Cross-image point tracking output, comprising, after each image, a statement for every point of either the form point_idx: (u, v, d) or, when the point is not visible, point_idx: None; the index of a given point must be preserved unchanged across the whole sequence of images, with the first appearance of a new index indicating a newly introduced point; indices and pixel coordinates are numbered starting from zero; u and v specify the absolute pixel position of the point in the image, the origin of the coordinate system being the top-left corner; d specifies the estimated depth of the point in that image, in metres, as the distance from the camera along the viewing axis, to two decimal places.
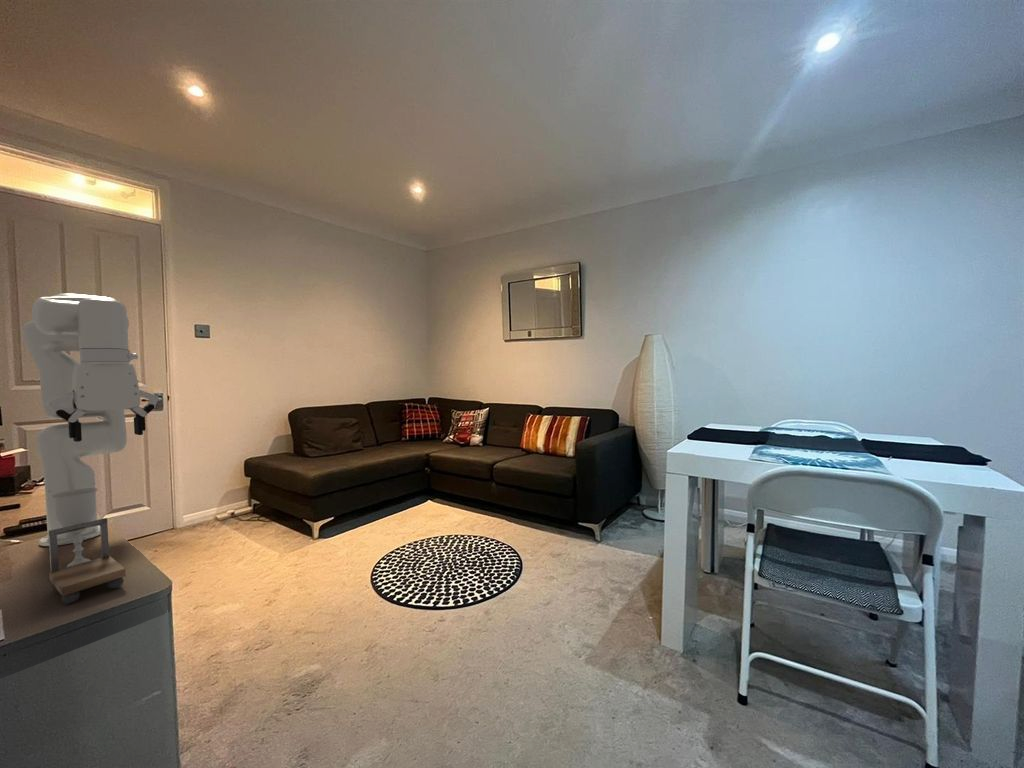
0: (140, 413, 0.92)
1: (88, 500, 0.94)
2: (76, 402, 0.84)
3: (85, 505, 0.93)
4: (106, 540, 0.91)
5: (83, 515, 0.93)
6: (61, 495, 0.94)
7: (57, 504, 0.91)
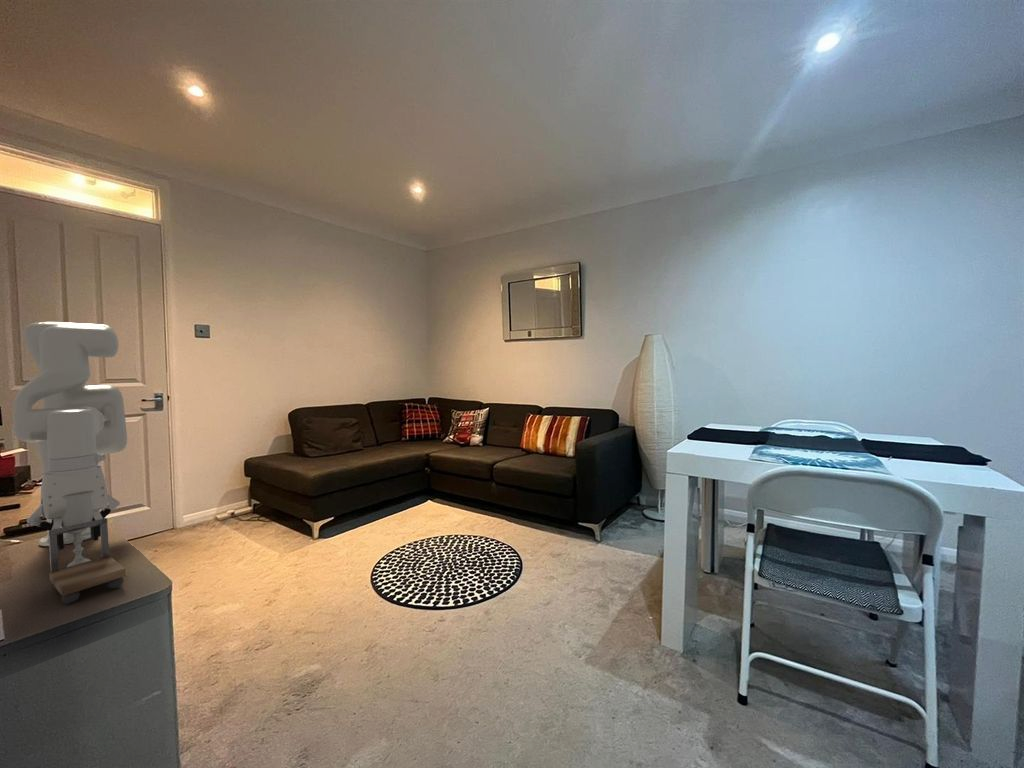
0: (96, 518, 0.96)
1: (88, 500, 0.94)
2: (44, 511, 0.89)
3: (85, 505, 0.93)
4: (106, 540, 0.91)
5: (83, 515, 0.93)
6: None
7: None
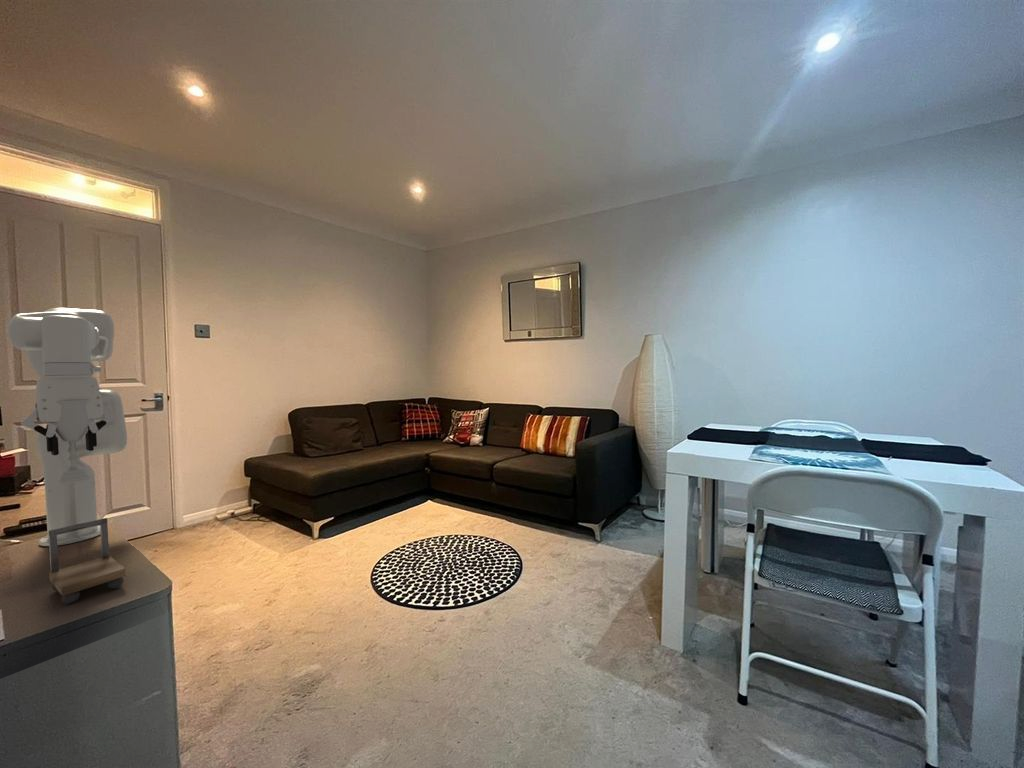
0: (92, 428, 0.95)
1: (83, 408, 0.93)
2: (38, 414, 0.88)
3: (80, 413, 0.92)
4: (106, 540, 0.91)
5: (78, 422, 0.92)
6: None
7: None
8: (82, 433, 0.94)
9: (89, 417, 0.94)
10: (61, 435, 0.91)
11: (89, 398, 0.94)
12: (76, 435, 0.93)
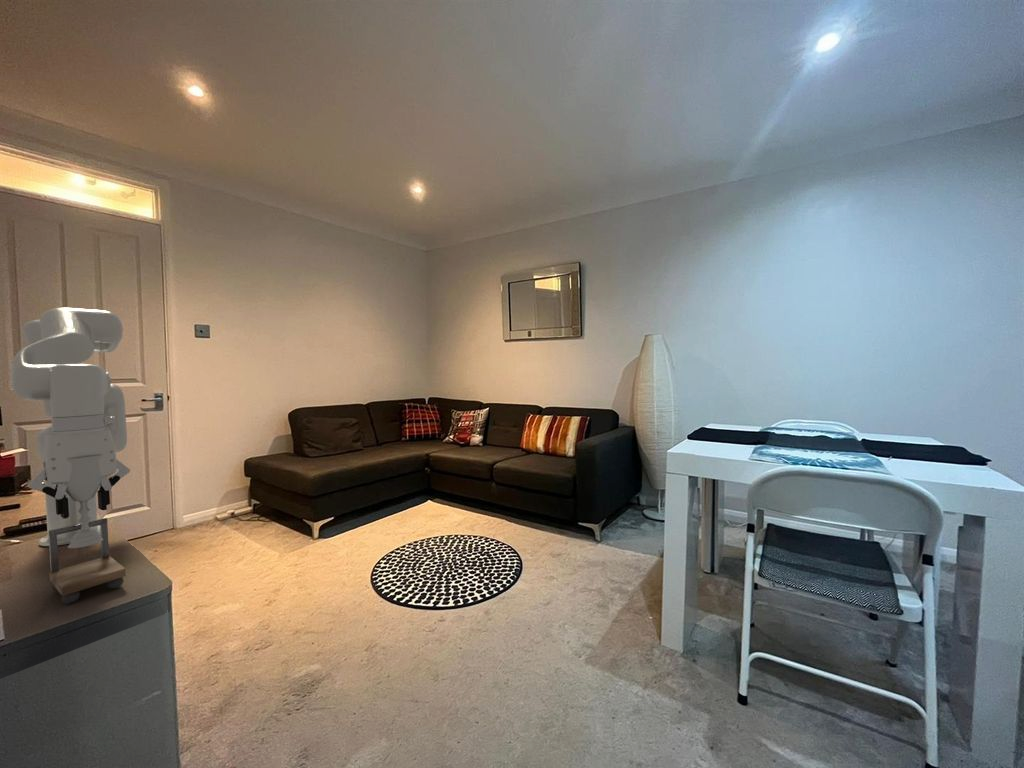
0: (104, 486, 0.87)
1: (95, 465, 0.85)
2: (47, 475, 0.80)
3: (92, 470, 0.84)
4: (106, 540, 0.91)
5: (90, 481, 0.84)
6: None
7: None
8: (94, 491, 0.85)
9: (102, 474, 0.86)
10: (71, 495, 0.83)
11: (102, 453, 0.86)
12: (88, 494, 0.84)
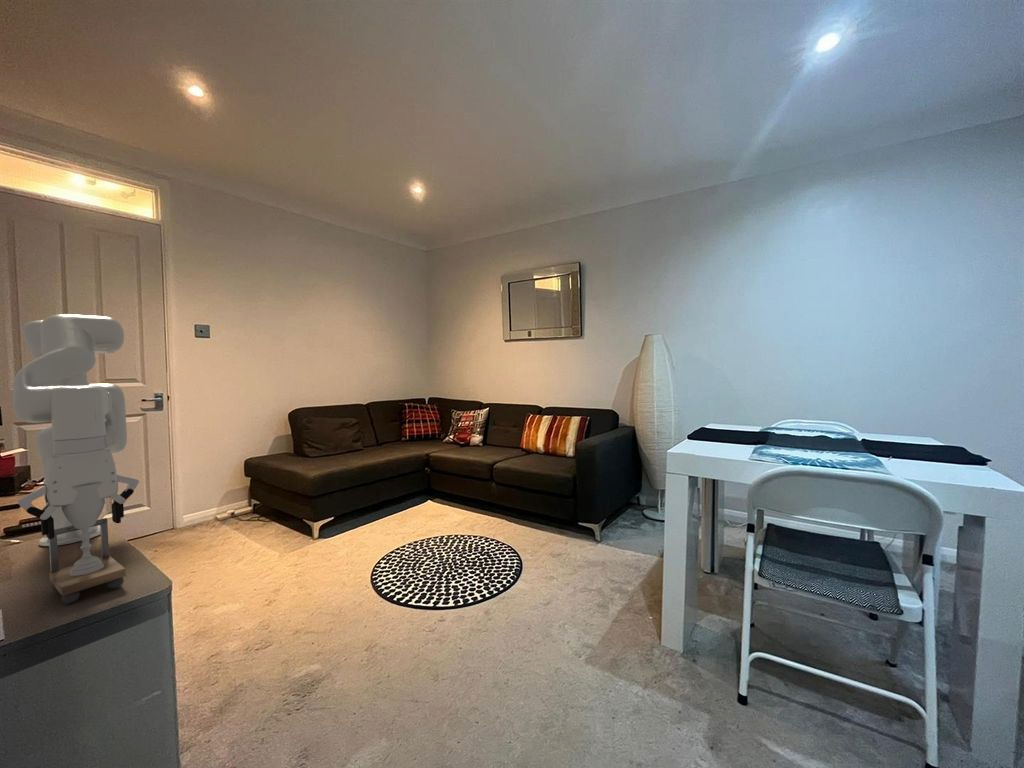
0: (118, 500, 0.88)
1: (97, 492, 0.85)
2: (48, 498, 0.80)
3: (94, 497, 0.85)
4: (106, 540, 0.91)
5: (92, 508, 0.84)
6: None
7: None
8: (96, 518, 0.86)
9: (103, 495, 0.86)
10: (73, 523, 0.83)
11: (103, 475, 0.86)
12: (89, 522, 0.85)
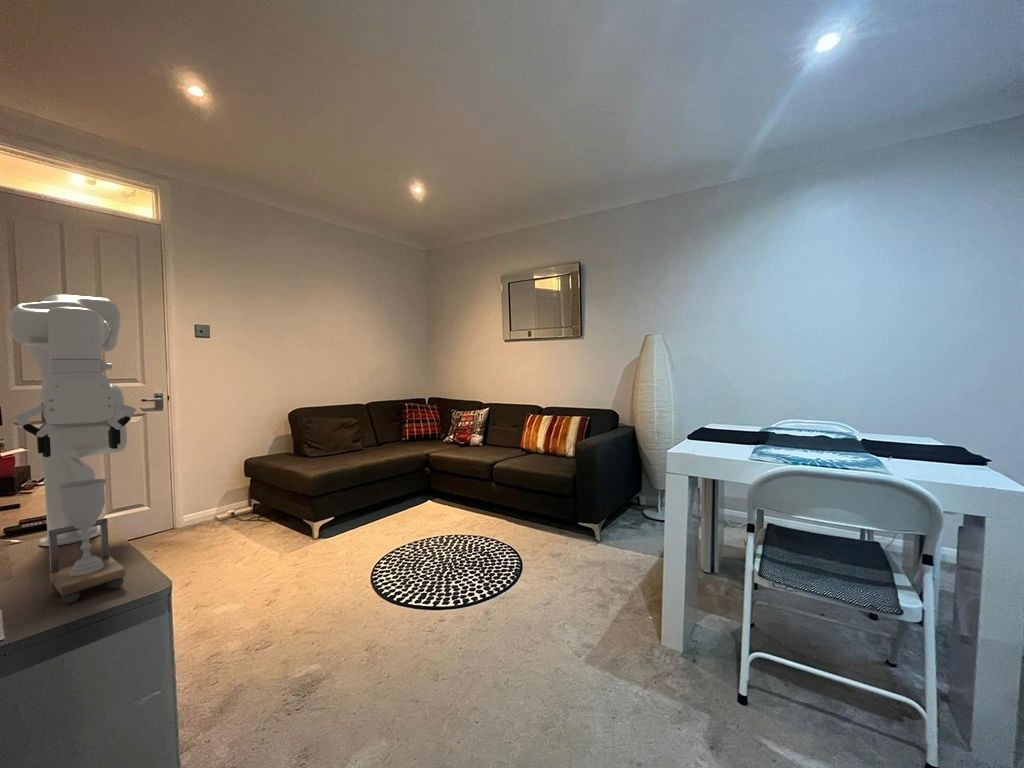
0: (115, 426, 0.88)
1: (97, 492, 0.85)
2: (45, 416, 0.80)
3: (94, 497, 0.85)
4: (106, 540, 0.91)
5: (92, 508, 0.84)
6: (67, 486, 0.85)
7: (63, 496, 0.82)
8: (96, 518, 0.86)
9: (99, 419, 0.86)
10: (73, 523, 0.83)
11: (99, 398, 0.86)
12: (89, 522, 0.85)
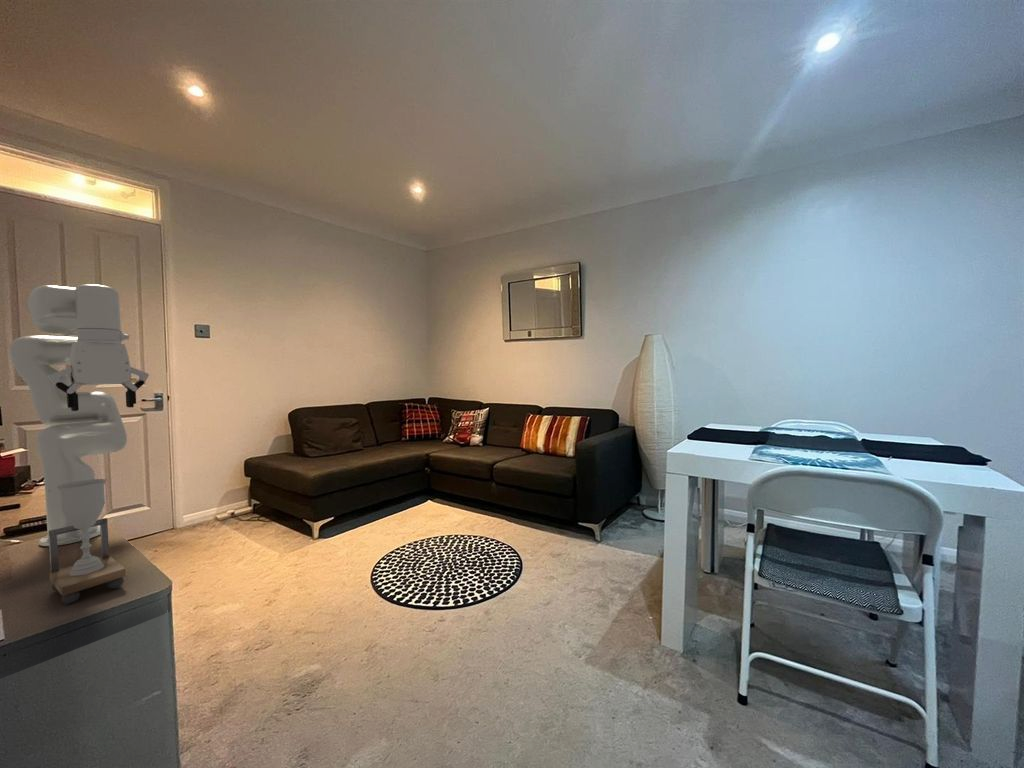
0: (131, 388, 1.03)
1: (97, 492, 0.85)
2: (73, 376, 0.95)
3: (94, 497, 0.85)
4: (106, 540, 0.91)
5: (91, 508, 0.84)
6: (67, 486, 0.85)
7: (63, 496, 0.82)
8: (95, 518, 0.86)
9: (119, 381, 1.01)
10: (73, 523, 0.83)
11: (119, 363, 1.01)
12: (89, 522, 0.85)
